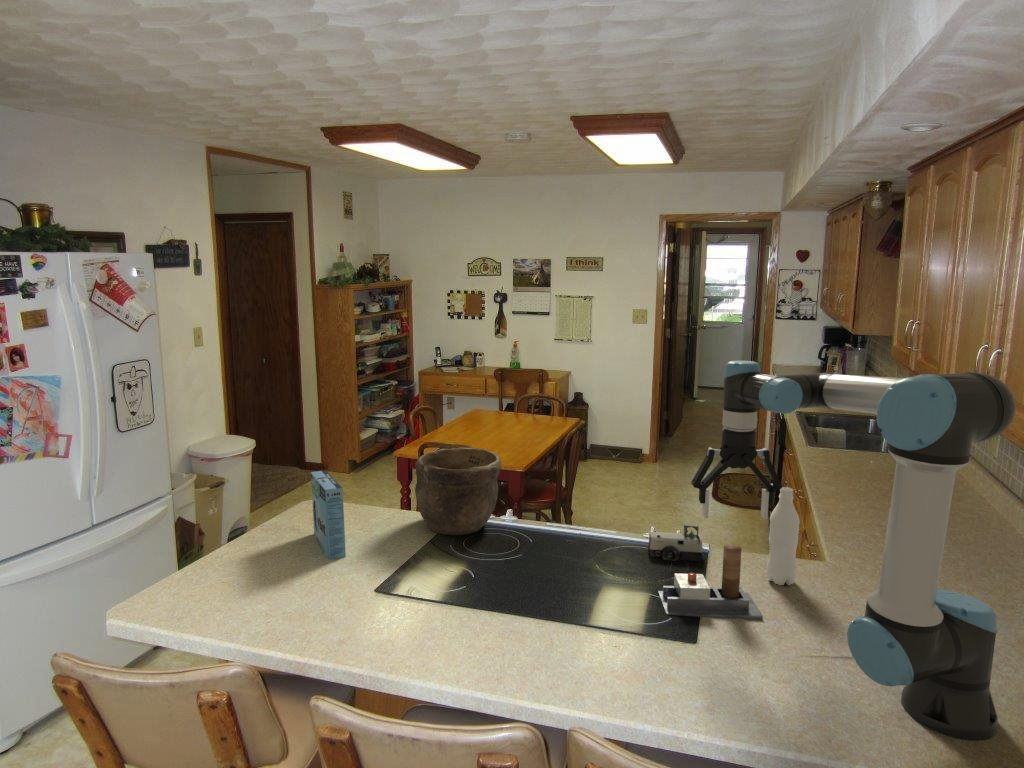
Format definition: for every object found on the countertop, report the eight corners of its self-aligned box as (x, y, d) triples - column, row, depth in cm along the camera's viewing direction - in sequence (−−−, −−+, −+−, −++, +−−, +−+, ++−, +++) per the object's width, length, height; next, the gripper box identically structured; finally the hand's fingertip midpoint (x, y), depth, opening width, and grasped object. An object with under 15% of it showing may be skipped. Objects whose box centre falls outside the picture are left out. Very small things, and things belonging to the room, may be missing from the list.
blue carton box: (346, 570, 189) (343, 487, 186) (327, 573, 187) (324, 490, 184) (331, 545, 207) (328, 469, 203) (313, 548, 204) (310, 471, 201)
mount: (762, 620, 163) (763, 605, 162) (666, 617, 164) (666, 603, 163) (747, 596, 174) (748, 583, 174) (657, 594, 175) (658, 581, 175)
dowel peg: (740, 607, 167) (743, 550, 165) (723, 606, 167) (725, 550, 165) (736, 599, 171) (739, 544, 168) (719, 599, 171) (722, 544, 169)
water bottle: (797, 589, 179) (804, 494, 175) (768, 586, 180) (774, 492, 176) (792, 577, 186) (799, 485, 182) (764, 575, 187) (769, 483, 183)
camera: (647, 563, 195) (648, 528, 193) (647, 553, 202) (649, 519, 201) (704, 568, 192) (705, 532, 190) (702, 557, 199) (703, 523, 198)
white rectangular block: (709, 599, 165) (710, 581, 164) (680, 599, 165) (681, 581, 164) (702, 584, 172) (702, 567, 172) (673, 584, 173) (674, 567, 172)
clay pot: (468, 559, 196) (468, 472, 193) (397, 541, 210) (396, 459, 206) (517, 531, 219) (517, 452, 215) (450, 516, 232) (449, 441, 228)
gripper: (788, 425, 165) (783, 512, 169) (681, 424, 166) (677, 510, 170) (800, 432, 158) (794, 523, 161) (687, 430, 159) (684, 521, 162)
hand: (734, 517), depth 165 cm, fingers open, 13 cm apart
